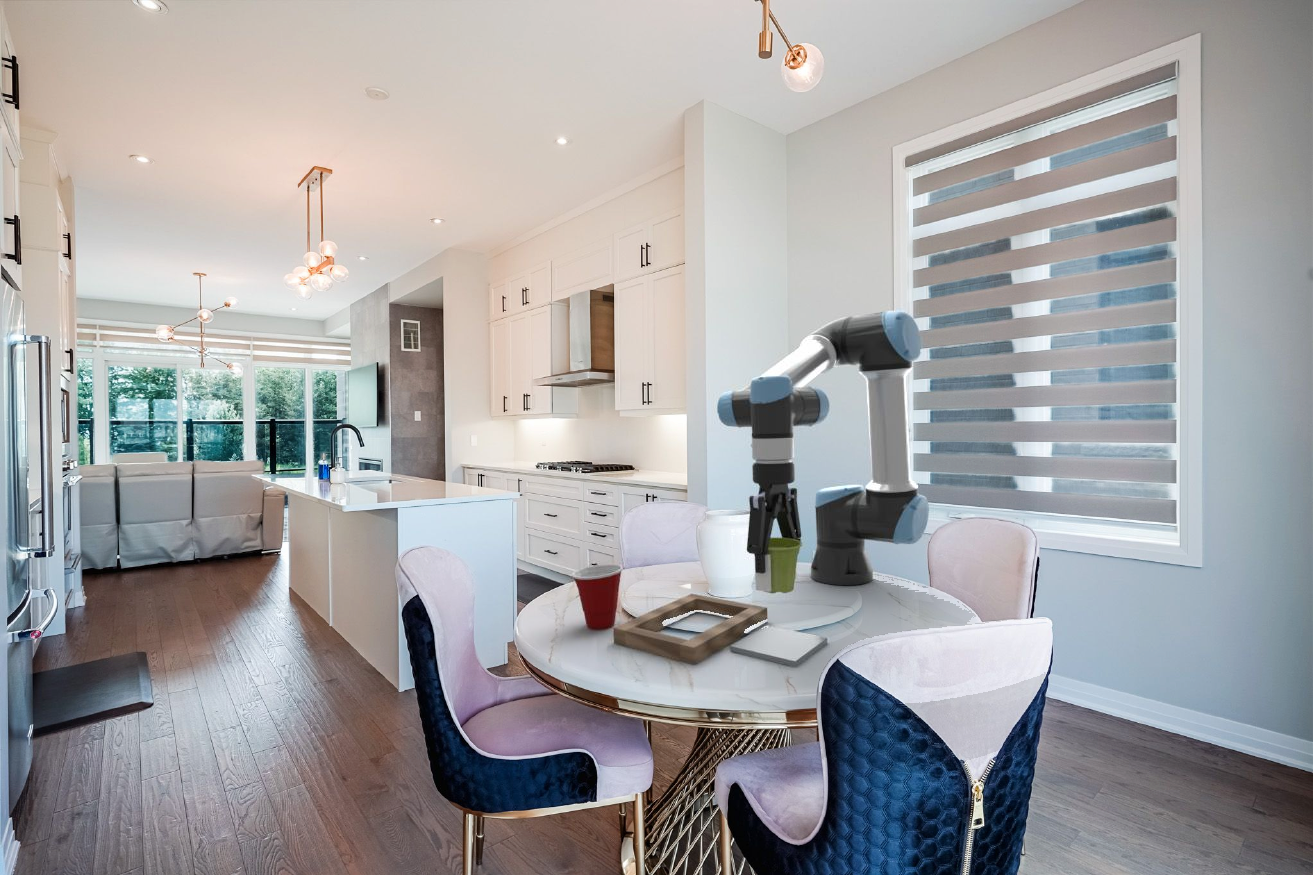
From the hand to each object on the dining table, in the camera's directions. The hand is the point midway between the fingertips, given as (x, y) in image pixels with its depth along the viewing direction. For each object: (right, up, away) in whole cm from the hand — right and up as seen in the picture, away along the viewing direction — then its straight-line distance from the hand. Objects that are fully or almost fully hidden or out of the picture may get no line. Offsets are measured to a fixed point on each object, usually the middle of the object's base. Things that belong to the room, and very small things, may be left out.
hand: (776, 583), depth 118 cm
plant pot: (0, -1, 0) cm, 1 cm away
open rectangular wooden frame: (-15, -12, +10) cm, 22 cm away
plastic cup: (-34, -13, +17) cm, 40 cm away
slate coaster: (+1, -12, +1) cm, 12 cm away
